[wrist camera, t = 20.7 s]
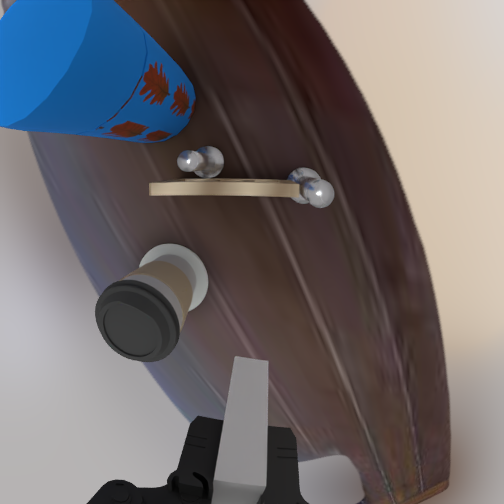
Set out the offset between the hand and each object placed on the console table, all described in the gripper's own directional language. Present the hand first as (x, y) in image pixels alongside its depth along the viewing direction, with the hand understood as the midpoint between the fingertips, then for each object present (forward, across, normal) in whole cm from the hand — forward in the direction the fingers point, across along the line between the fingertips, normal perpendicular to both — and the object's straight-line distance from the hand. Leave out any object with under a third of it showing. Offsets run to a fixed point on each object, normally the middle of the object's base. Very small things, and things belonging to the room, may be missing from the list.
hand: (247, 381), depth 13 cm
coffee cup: (+26, -11, -7) cm, 29 cm away
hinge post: (+26, +4, +8) cm, 28 cm away
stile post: (+26, -8, +9) cm, 29 cm away
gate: (+25, -4, +7) cm, 27 cm away
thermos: (+27, -16, +16) cm, 35 cm away
